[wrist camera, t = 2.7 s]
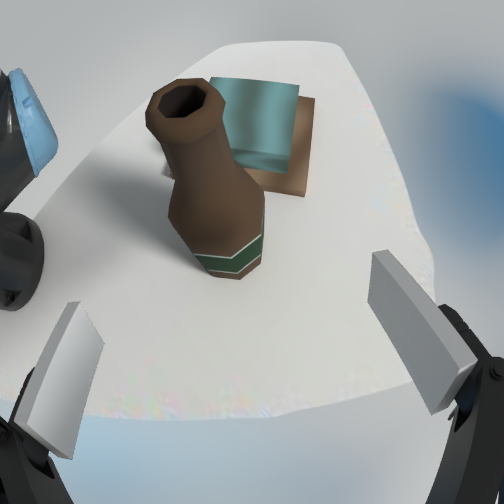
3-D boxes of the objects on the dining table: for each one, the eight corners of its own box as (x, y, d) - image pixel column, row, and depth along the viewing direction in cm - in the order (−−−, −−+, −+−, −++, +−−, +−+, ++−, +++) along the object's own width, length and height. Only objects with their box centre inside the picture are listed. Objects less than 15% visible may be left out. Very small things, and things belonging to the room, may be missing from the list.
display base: (172, 179, 37) (160, 156, 32) (203, 93, 41) (198, 68, 36) (304, 197, 36) (310, 175, 30) (313, 105, 40) (318, 79, 35)
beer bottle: (207, 290, 33) (100, 201, 10) (191, 228, 35) (102, 78, 12) (273, 271, 34) (299, 142, 10) (254, 210, 36) (244, 36, 12)
